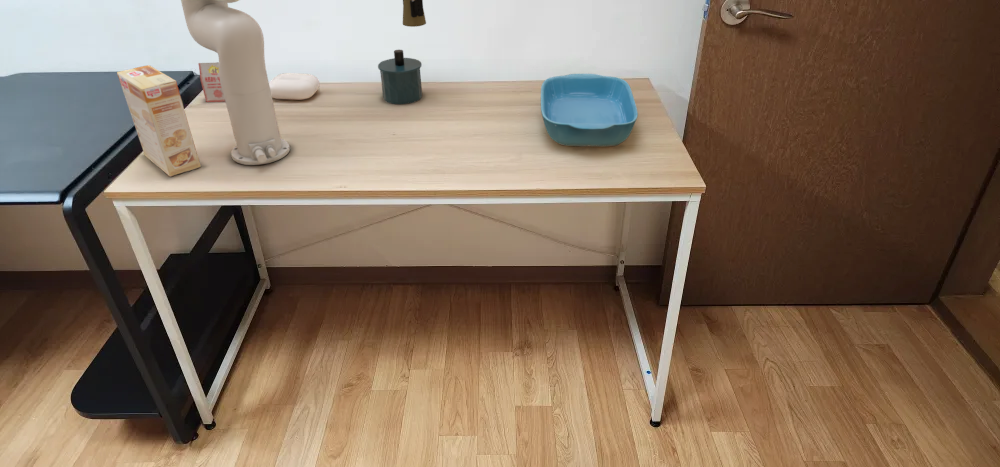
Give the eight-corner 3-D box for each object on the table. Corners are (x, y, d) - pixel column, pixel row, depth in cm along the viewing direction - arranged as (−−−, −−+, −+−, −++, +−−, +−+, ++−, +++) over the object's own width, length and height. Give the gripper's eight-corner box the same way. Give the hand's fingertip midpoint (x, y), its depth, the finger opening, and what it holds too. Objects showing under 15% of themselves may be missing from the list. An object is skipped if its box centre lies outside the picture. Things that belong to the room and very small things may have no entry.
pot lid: (428, 71, 168) (427, 53, 165) (387, 78, 163) (385, 60, 161) (411, 59, 176) (410, 42, 174) (372, 66, 172) (370, 48, 169)
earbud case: (279, 88, 180) (275, 69, 177) (324, 89, 179) (321, 70, 176) (264, 102, 172) (260, 82, 169) (311, 103, 171) (308, 83, 168)
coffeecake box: (202, 166, 140) (177, 80, 129) (169, 177, 136) (140, 89, 125) (175, 146, 149) (150, 63, 138) (143, 155, 145) (114, 71, 134)
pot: (428, 99, 172) (426, 68, 168) (391, 107, 168) (388, 75, 163) (413, 87, 180) (410, 57, 175) (377, 94, 176) (374, 64, 171)
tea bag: (210, 96, 175) (200, 60, 170) (235, 96, 176) (226, 60, 170) (206, 102, 172) (196, 65, 167) (232, 101, 173) (223, 64, 167)
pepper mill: (397, 24, 165) (393, -21, 159) (411, 19, 169) (407, -25, 163) (417, 27, 162) (414, -18, 156) (430, 21, 167) (427, -23, 161)
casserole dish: (540, 96, 174) (541, 70, 170) (623, 97, 173) (626, 71, 169) (539, 156, 143) (540, 126, 139) (640, 158, 142) (644, 128, 138)
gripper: (436, -61, 150) (440, 19, 160) (408, -70, 162) (414, 5, 172) (406, -58, 147) (413, 24, 157) (380, -67, 159) (387, 9, 169)
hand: (413, 13), depth 164 cm, fingers closed on pepper mill, 4 cm apart
